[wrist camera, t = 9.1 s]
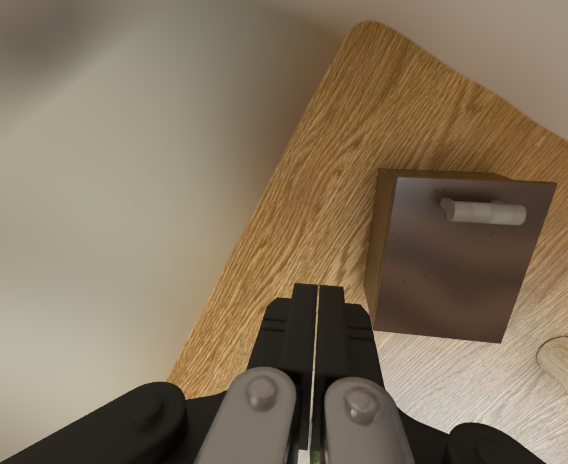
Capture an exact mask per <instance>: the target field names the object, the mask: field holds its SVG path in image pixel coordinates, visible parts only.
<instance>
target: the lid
mask: <svg viewBox="0 0 568 464" xmlns="http://www.w3.org/2000/svg"><path fill="white" fill-rule="evenodd" d="M556 187H557V183H554V182H544V181H521V180H498V179H475V178H452V177H429V176H405V175H396V176H395V182H394V188H393V195H392V201H391V208H390V214H389V221H388V227H387V234H386V240H385V247H384V253H383V260H382V266H381V273H380V279H379V286H378V292H377V299H376V305H375V312H374V318H373V325H372V327H373V330H374V331H383V332H393V333H402V334H412V335H422V336H431V337H441V338H451V339H460V340H470V341H480V342H489V343H499V344H501V342H502V339H503V336H504V333H505V330H506V327H507V325H508V322H509V319H510V316H511V313H512V311H513V308H514V305H515V302H516V299H517V296H518V294H519V291H520V288H521V285H522V282H523V280H524V277H525V274H526V271H527V268H528V265H529V263H530V260H531V257H532V254H533V251H534V249H535V246H536V243H537V240H538V237H539V234H540V232H541V229H542V226H543V223H544V220H545V218H546V215H547V212H548V209H549V206H550V203H551V201H552V198H553V195H554V192H555V189H556Z"/></svg>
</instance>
